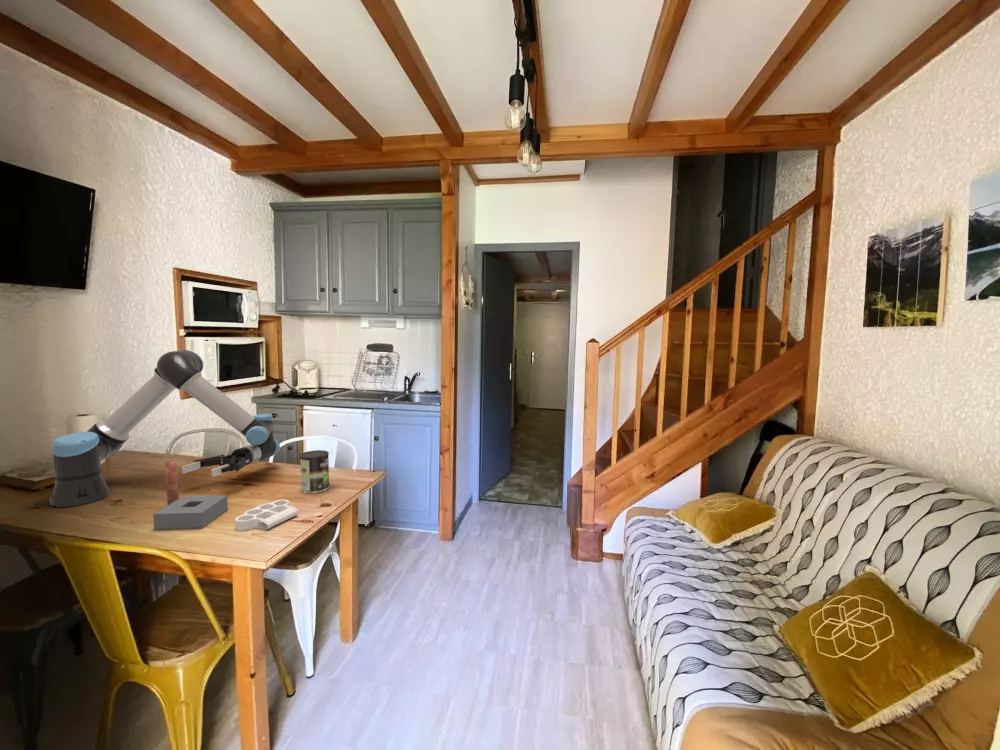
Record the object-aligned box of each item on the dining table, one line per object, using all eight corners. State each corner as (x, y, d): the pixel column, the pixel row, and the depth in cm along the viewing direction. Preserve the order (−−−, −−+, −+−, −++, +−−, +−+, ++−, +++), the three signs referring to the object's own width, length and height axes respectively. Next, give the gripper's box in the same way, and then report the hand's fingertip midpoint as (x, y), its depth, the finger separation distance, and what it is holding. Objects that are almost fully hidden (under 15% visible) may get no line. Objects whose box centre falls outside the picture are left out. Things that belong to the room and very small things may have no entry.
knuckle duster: (258, 536, 124) (224, 528, 130) (306, 513, 141) (274, 506, 146) (258, 526, 124) (224, 517, 129) (306, 503, 141) (274, 497, 146)
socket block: (154, 529, 127) (153, 514, 127) (184, 510, 141) (183, 496, 141) (202, 528, 128) (201, 512, 128) (227, 509, 142) (227, 495, 142)
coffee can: (333, 484, 167) (333, 450, 166) (322, 493, 157) (321, 457, 156) (308, 483, 168) (307, 449, 166) (295, 493, 157) (294, 457, 156)
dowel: (165, 508, 143) (162, 463, 141) (171, 504, 146) (168, 460, 144) (175, 508, 143) (172, 462, 141) (181, 504, 146) (178, 460, 145)
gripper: (271, 467, 170) (225, 484, 150) (222, 461, 176) (171, 478, 156) (270, 449, 169) (224, 464, 149) (221, 444, 176) (170, 458, 155)
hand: (197, 471), depth 152 cm, fingers open, 13 cm apart
